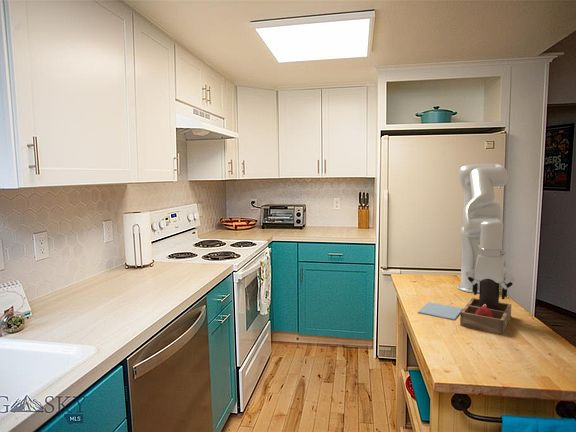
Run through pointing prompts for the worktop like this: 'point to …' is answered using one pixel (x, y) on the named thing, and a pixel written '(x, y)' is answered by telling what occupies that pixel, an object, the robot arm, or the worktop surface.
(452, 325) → the worktop surface
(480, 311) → the onion
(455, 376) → the worktop surface
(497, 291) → the vinegar
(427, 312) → the mat
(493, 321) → the rack
